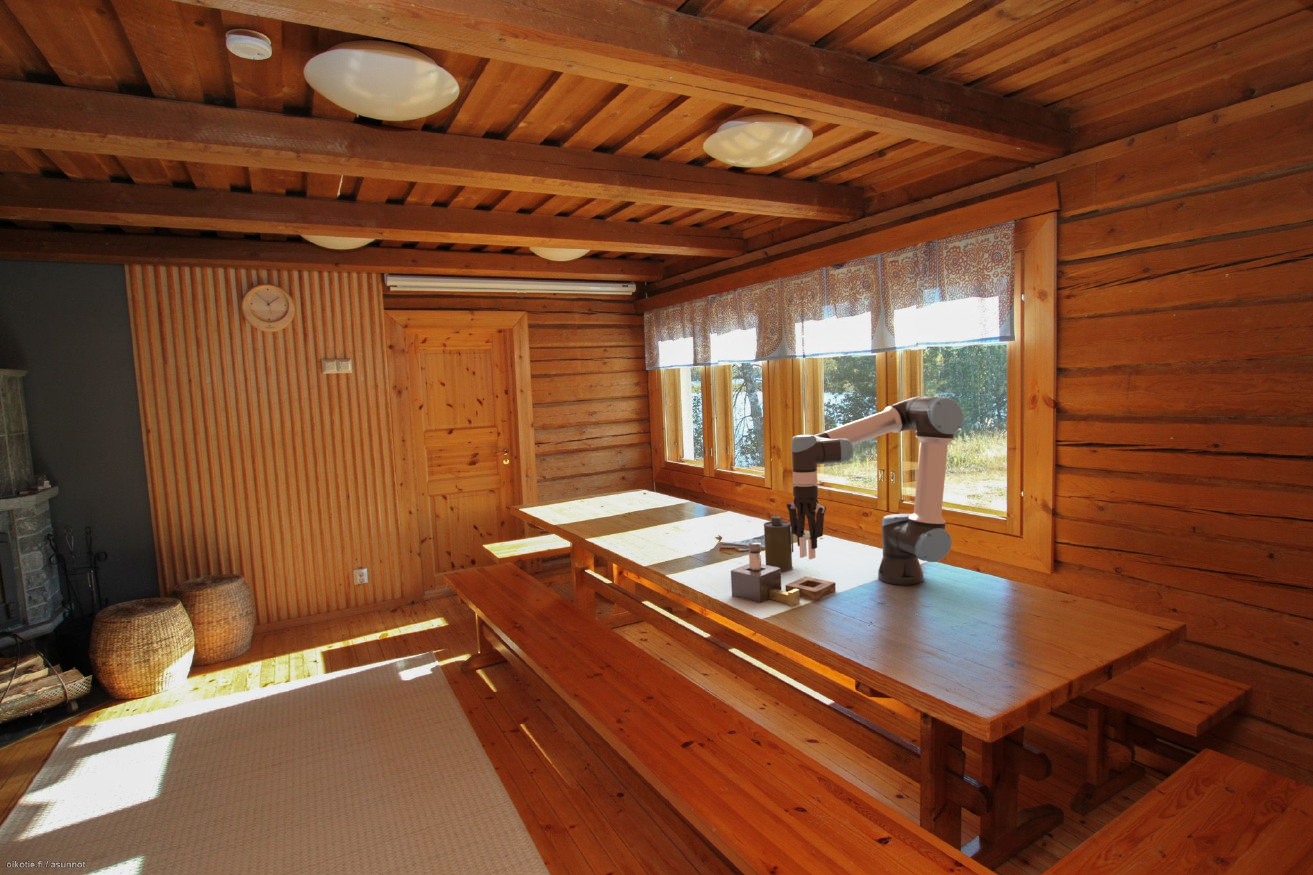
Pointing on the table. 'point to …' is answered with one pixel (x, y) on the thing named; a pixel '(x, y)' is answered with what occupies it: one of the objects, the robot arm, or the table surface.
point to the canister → (778, 543)
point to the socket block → (755, 582)
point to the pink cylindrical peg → (755, 556)
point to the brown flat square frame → (812, 587)
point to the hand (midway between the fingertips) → (807, 557)
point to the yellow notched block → (785, 596)
